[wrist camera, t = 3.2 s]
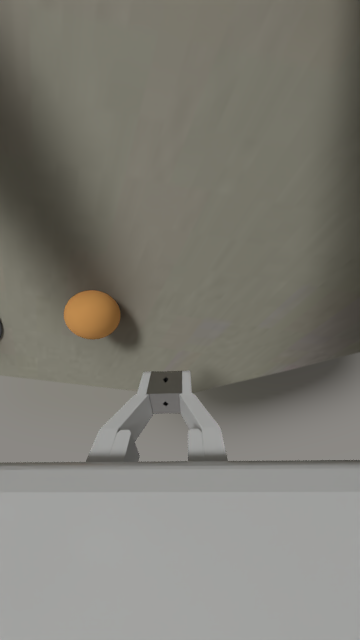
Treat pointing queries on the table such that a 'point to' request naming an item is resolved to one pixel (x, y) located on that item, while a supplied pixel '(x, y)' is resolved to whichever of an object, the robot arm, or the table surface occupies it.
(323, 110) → the table surface
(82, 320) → the ball
